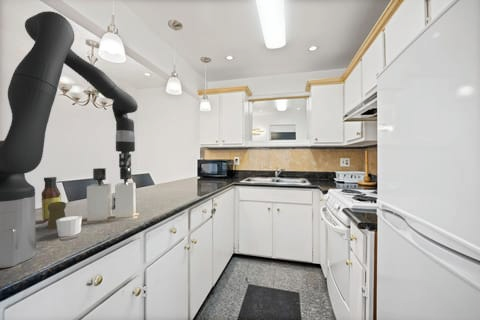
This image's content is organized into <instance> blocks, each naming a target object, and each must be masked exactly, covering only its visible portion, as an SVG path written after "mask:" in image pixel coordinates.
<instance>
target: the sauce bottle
mask: <svg viewBox="0 0 480 320" xmlns="http://www.w3.org/2000/svg"><path fill="white" fill-rule="evenodd" d="M57 179H58V178H57V176H47V177H46V176H45V177H43V181H44V188H43V190H42V191H41V215H42V222H43V223H48V219H49V213H50V211H49V210H48V205H49V204H50V203H53V202H62V195H61V191H60V190H59V188H58V186H57Z"/></svg>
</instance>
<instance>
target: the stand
mask: <svg viewBox="0 0 480 320" xmlns="http://www.w3.org/2000/svg"><path fill="white" fill-rule="evenodd" d="M139 214H140V211H136V214H135V216H134V217H133V218H124V219H115V214H111V217H110V218H109V219H108V220H105V221H96V222H87V219H85V221H83V222H81V225H86V224H94V223H103V222H104V223H105V222H106V223H107V222H114V221H115V222H116V221H123V220H125V221H126V220H132V219H138V217H139Z"/></svg>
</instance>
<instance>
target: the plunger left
mask: <svg viewBox="0 0 480 320" xmlns="http://www.w3.org/2000/svg"><path fill="white" fill-rule="evenodd" d="M106 169H107V168H105V167H103V168H101V167H99V168H92V173H93V174H92V177H93V178H92V179H93V181H97V184H98V186H102V184H103V183H102V181H105V180H107V177H106V176H107V175H106V171H107V170H106Z"/></svg>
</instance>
